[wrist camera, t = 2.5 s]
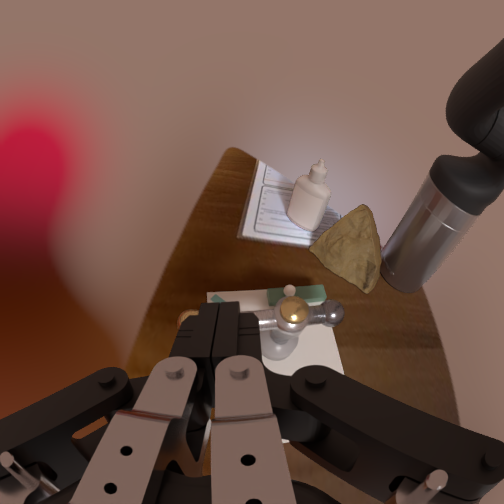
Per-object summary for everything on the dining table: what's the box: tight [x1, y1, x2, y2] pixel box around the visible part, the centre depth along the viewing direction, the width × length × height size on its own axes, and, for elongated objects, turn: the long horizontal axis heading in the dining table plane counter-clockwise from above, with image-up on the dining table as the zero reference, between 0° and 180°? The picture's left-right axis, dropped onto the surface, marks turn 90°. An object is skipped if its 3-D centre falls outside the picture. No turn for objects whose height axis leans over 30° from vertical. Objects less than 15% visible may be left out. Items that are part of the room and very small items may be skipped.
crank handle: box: [177, 296, 344, 345], centre depth 25 cm, size 15×3×6 cm, turn 98°
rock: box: [309, 204, 382, 294], centre depth 38 cm, size 11×9×10 cm
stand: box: [207, 285, 344, 443], centre depth 28 cm, size 14×18×5 cm
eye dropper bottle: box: [287, 159, 331, 232], centre depth 41 cm, size 4×6×12 cm
